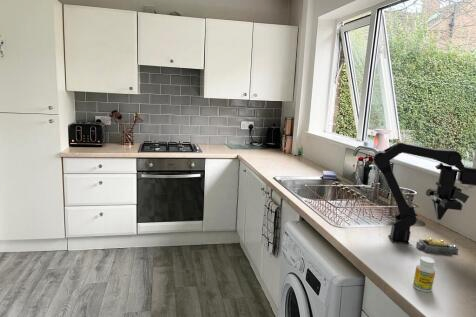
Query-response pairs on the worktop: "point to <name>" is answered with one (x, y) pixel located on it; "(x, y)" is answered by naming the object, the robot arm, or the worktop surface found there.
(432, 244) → the gold block with knobs
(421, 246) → the open rectangular frame
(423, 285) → the supplement bottle
